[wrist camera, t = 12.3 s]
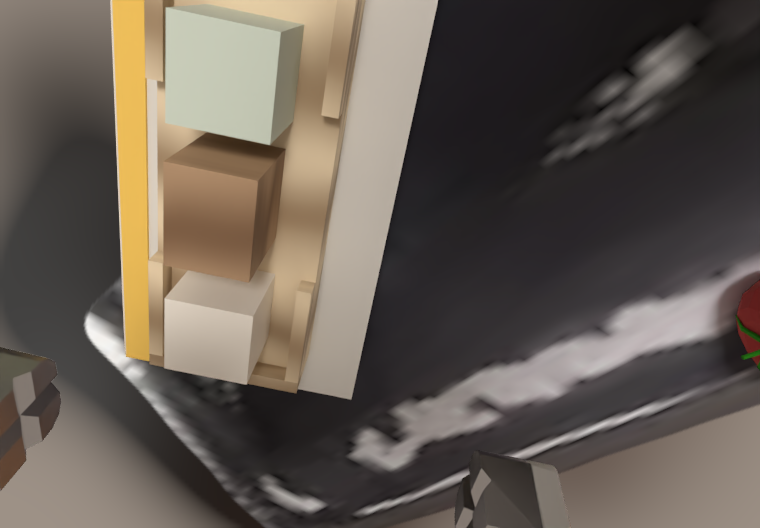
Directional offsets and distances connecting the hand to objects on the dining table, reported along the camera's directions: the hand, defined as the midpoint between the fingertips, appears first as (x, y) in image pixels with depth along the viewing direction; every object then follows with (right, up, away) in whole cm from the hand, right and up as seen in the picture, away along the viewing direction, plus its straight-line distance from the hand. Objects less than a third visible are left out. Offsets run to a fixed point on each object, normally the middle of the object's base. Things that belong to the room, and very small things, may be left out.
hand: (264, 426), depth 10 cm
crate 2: (-6, +1, +21) cm, 22 cm away
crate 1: (-4, +12, +15) cm, 20 cm away
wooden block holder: (-5, +8, +20) cm, 22 cm away
